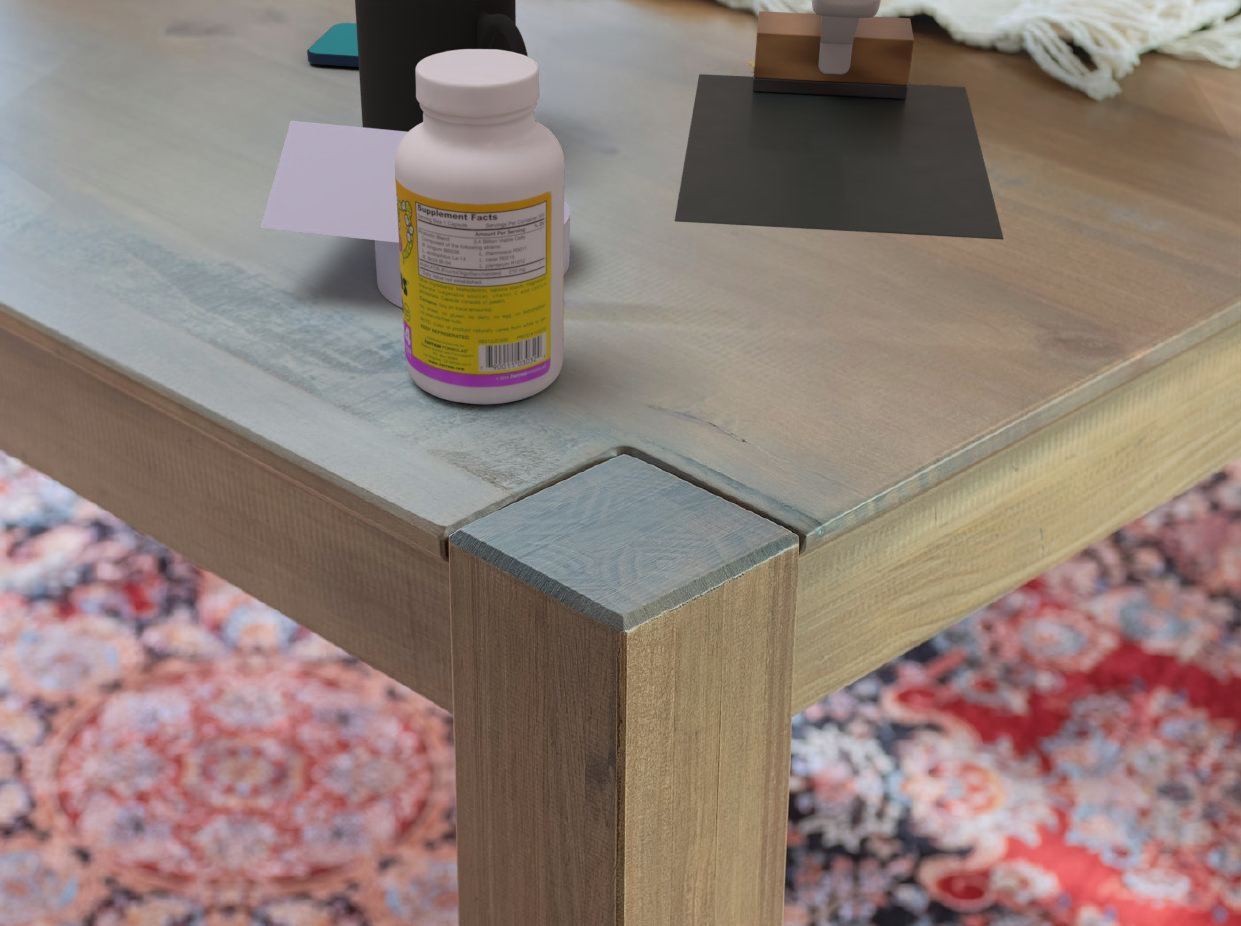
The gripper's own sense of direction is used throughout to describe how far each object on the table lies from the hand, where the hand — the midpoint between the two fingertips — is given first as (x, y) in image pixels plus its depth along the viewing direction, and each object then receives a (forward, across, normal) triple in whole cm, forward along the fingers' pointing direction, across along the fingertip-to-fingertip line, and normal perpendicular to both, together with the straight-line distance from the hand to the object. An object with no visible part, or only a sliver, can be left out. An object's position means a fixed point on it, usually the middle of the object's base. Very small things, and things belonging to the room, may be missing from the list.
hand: (832, 55), depth 100 cm
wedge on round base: (+3, -29, +19) cm, 35 cm away
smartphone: (+3, +5, +25) cm, 25 cm away
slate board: (+3, -11, 0) cm, 12 cm away
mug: (+3, -15, +20) cm, 25 cm away
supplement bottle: (+3, -39, +15) cm, 42 cm away
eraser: (+2, 0, 0) cm, 2 cm away
